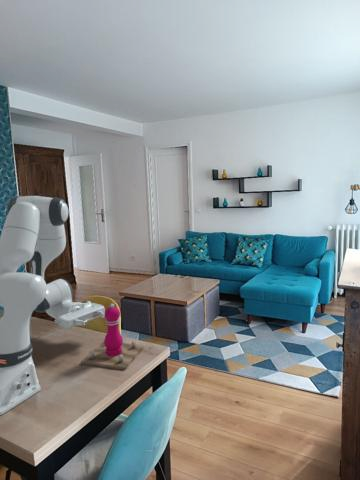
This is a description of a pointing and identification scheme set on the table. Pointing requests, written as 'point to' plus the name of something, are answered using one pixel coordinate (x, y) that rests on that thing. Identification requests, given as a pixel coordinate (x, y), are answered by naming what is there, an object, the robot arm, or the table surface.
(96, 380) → the table surface
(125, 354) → the pin base
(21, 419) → the table surface
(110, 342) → the pepper mill
